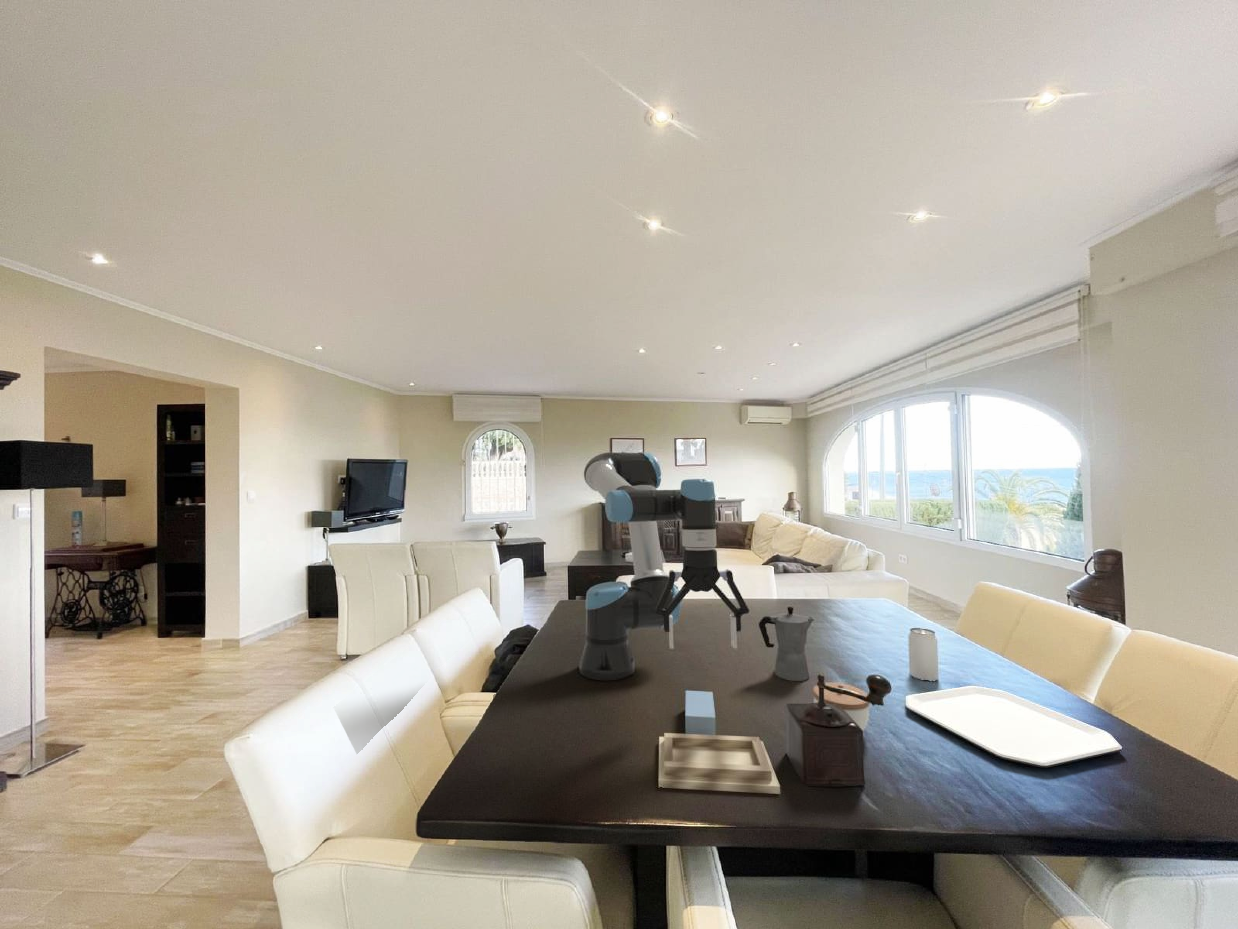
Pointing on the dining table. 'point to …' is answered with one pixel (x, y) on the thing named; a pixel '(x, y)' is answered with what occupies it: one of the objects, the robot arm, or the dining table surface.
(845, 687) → the lidded jar
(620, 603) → the robot arm
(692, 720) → the blue block
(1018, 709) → the plate
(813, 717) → the coffee grinder
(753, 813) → the dining table surface
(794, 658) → the coffeepot
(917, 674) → the can
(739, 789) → the slot holder
